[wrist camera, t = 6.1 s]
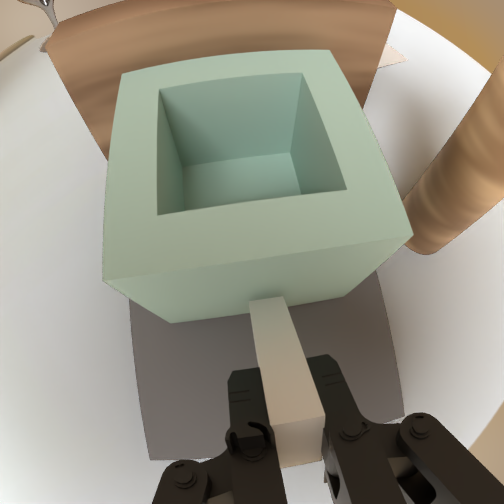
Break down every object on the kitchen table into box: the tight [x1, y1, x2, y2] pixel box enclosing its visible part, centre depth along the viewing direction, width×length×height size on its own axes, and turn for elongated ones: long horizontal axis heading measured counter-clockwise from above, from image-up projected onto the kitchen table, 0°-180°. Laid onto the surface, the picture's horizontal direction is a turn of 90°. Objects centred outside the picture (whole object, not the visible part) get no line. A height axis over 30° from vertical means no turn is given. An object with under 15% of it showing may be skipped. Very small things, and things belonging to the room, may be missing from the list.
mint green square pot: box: [103, 50, 414, 323], centre depth 15 cm, size 10×10×9 cm
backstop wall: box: [45, 0, 397, 161], centre depth 17 cm, size 2×16×13 cm, turn 99°
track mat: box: [129, 270, 405, 460], centre depth 19 cm, size 18×15×1 cm
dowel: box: [402, 55, 504, 255], centre depth 12 cm, size 4×4×18 cm
